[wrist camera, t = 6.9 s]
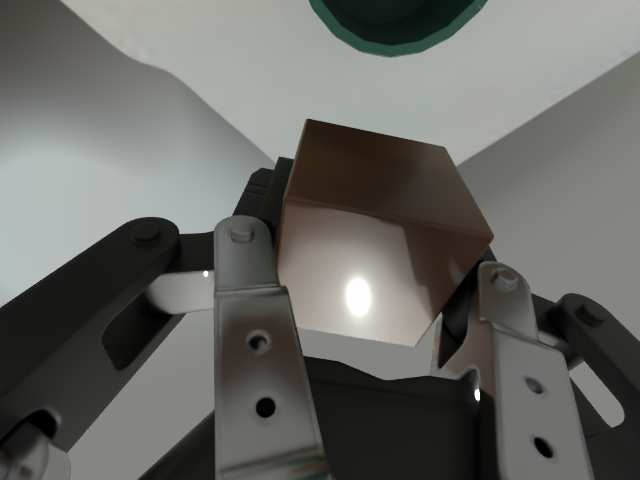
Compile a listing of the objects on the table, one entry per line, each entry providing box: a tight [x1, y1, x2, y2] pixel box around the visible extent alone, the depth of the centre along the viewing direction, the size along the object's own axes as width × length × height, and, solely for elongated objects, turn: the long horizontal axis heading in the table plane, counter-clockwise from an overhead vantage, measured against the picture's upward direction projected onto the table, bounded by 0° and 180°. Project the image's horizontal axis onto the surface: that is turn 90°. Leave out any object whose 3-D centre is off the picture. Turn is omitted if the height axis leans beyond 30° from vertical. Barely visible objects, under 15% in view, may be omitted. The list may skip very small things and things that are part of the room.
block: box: [276, 119, 494, 347], centre depth 10 cm, size 5×5×5 cm
